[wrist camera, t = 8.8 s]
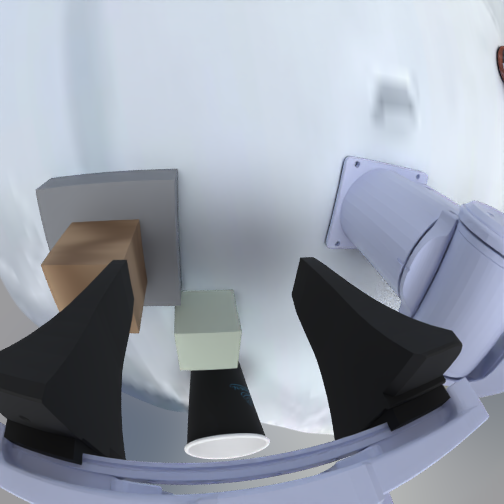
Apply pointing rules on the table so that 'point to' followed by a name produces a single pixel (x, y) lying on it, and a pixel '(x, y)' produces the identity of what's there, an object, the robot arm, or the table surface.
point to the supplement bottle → (501, 61)
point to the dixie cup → (222, 416)
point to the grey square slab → (123, 218)
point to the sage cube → (207, 330)
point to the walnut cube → (96, 260)
